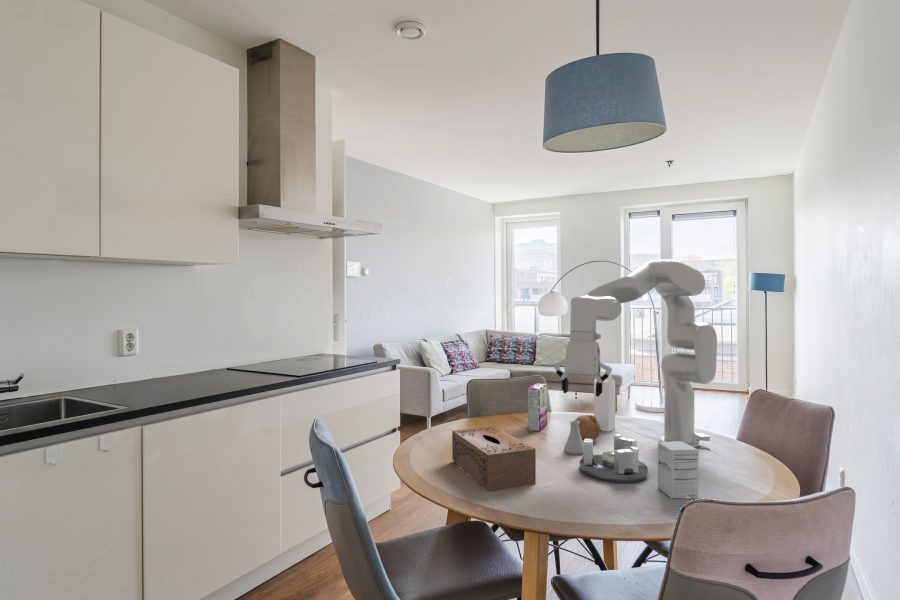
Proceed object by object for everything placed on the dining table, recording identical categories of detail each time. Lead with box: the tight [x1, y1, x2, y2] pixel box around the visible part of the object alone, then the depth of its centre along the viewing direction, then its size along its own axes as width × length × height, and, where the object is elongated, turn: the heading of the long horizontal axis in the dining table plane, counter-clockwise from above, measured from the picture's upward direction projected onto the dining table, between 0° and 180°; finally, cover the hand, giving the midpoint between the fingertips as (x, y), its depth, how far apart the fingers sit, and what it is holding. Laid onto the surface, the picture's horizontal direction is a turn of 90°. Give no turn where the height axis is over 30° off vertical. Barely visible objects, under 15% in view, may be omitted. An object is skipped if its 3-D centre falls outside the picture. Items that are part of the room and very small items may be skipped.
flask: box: [563, 420, 584, 455], centre depth 168 cm, size 7×7×10 cm
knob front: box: [581, 438, 595, 465], centre depth 151 cm, size 4×6×7 cm, turn 162°
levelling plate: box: [579, 450, 649, 485], centre depth 149 cm, size 19×19×6 cm
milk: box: [593, 371, 616, 433], centre depth 195 cm, size 6×6×22 cm
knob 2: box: [613, 446, 640, 474], centre depth 142 cm, size 4×6×7 cm, turn 102°
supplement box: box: [657, 441, 699, 499], centre depth 132 cm, size 7×7×13 cm
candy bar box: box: [527, 383, 548, 432], centre depth 198 cm, size 11×5×16 cm, turn 155°
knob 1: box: [613, 433, 637, 451], centre depth 154 cm, size 4×6×7 cm, turn 42°
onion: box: [574, 414, 601, 442], centre depth 181 cm, size 10×9×10 cm
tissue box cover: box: [451, 425, 537, 493], centre depth 149 cm, size 26×14×10 cm, turn 21°
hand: (581, 394), depth 153 cm, fingers open, 9 cm apart
